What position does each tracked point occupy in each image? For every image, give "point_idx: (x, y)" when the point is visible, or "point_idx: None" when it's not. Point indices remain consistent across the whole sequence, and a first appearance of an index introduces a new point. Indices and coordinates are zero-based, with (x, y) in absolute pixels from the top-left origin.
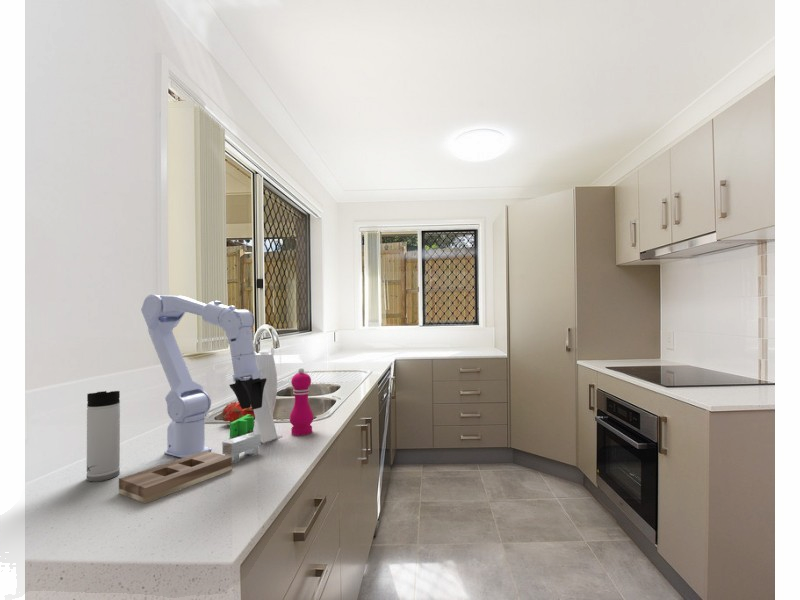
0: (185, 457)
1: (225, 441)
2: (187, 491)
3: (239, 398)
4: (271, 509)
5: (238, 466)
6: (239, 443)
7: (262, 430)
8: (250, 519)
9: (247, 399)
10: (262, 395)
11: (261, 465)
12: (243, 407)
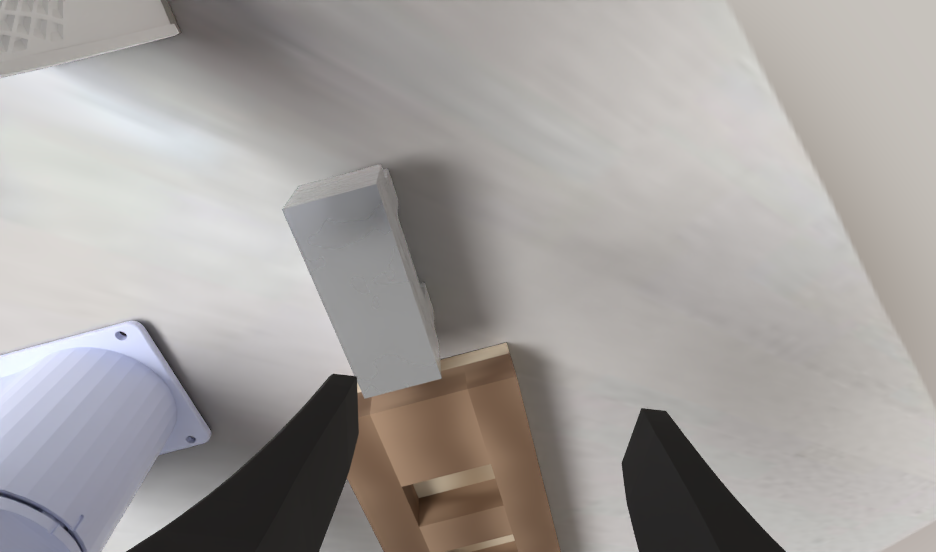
0: (362, 498)
1: (371, 387)
2: (575, 487)
3: (319, 543)
4: (911, 371)
5: (489, 309)
6: (425, 327)
7: (97, 22)
8: (895, 426)
9: (326, 456)
10: (739, 504)
11: (563, 234)
12: (353, 436)
